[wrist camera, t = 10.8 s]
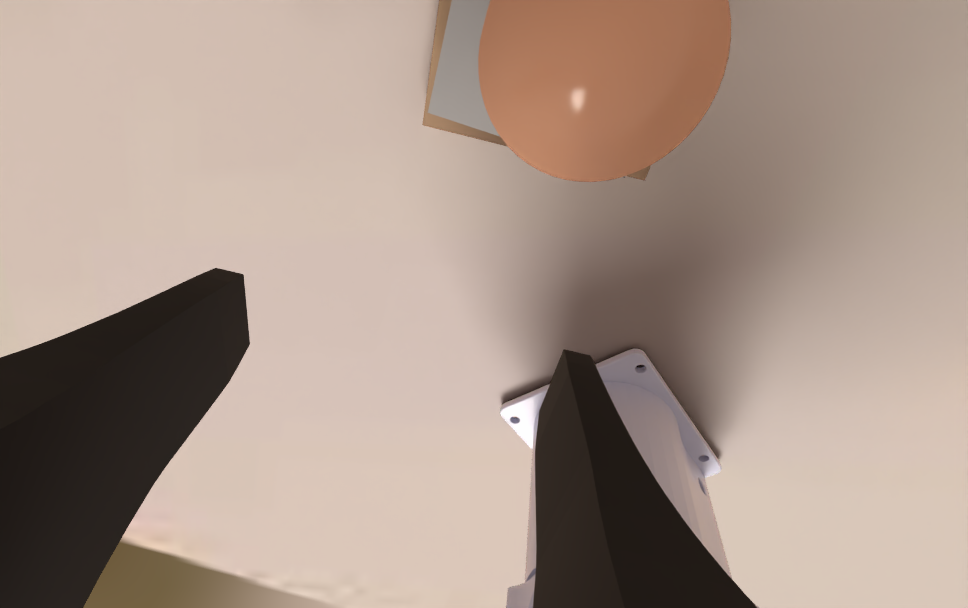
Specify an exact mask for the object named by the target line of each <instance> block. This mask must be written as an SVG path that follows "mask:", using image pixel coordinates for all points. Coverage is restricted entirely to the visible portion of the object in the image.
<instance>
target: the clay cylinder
mask: <svg viewBox="0 0 968 608" xmlns="http://www.w3.org/2000/svg"><path fill="white" fill-rule="evenodd" d="M730 41H731V18H730V10H729V2H728V0H490V2H489V6H488V10H487V13H486V17H485V21H484V25H483V29H482V34H481V38H480V46H479V55H478V74H479V82H480V89H481V94H482V97H483V101H484V105H485V108H486V110H487V113H488V115H489V118H490V120H491V122H492V124H493V125H494V127H495V129H496V131H497V132H498V134H499V135H500V137H501V138H502V139H503V141H504V142H505V143H506V145H507V146H508V147H509V148H510V149H511V150H512V151H513V152H514V153H515V154H516V155H517V156H518V157H520V158H521V159H522V160H524V161H525V162H526V163H528V164H529V165H531V166H533V167H534V168H536V169H538V170H539V171H542V172H544V173H546V174H549V175H551V176H554V177H558V178H562V179H565V180H572V181H579V182H596V181H605V180H611V179H616V178H620V177H624V176H627V175H629V174H632V173H635V172H638V171H640V170H642V169H644V168H646V167H648V166H650V165H652V164H653V163H655V162H657V161H658V160H660V159H661V158H663V157H664V156H666V155H667V154H668V153H669V152H671V151H672V150H673V149H675V148H676V147H677V146H678V145H679V144H680V143H681V142H682V141H683V140H684V139H685V138H686V137H687V136H688V135H689V134H690V133H691V132H692V131H693V129H694V128H695V127H696V126H697V124H698V123H699V122H700V121H701V119H702V118H703V116H704V115H705V113H706V112H707V110H708V108H709V107H710V105H711V103H712V101H713V99H714V97H715V95H716V93H717V91H718V89H719V86H720V83H721V81H722V78H723V76H724V72H725V68H726V64H727V60H728V56H729V48H730Z"/></svg>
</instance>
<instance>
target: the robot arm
mask: <svg viewBox="0 0 968 608" xmlns="http://www.w3.org/2000/svg"><path fill="white" fill-rule="evenodd" d="M249 345H250V341H249V330H248V319H247V308H246V297H245V286H244V275H243V274H240V273H235V272H231V271H227V270H222V269H218V268H215V269H212V270H210V271H207V272H205V273H203V274H200V275H198V276H196V277H194V278H192V279H189V280H187V281H185V282H183V283H181V284H179V285H177V286H174V287H172V288H170V289H168V290H166V291H164V292H162V293H160V294H157V295H155V296H153V297H151V298H149V299H146V300H144V301H142V302H140V303H138V304H136V305H133V306H131V307H129V308H127V309H125V310H122V311H120V312H118V313H116V314H113V315H111V316H109V317H106V318H104V319H101V320H99V321H96V322H94V323H92V324H89V325H87V326H84V327H82V328H80V329H77V330H75V331H72V332H70V333H68V334H65V335H63V336H60V337H58V338H55V339H52V340H50V341H47V342H44V343H42V344H39V345H36V346H33V347H31V348H28V349H25V350H22V351H19V352H16V353H13V354H10V355H7V356H4V357H1V358H0V608H83V607H84V605H85V603H86V601H87V599H88V597H89V595H90V593H91V592H92V590H93V588H94V586H95V584H96V582H97V580H98V578H99V577H100V575H101V573H102V571H103V569H104V568H105V566H106V564H107V562H108V561H109V559H110V557H111V555H112V554H113V552H114V550H115V548H116V546H117V545H118V543H119V541H120V540H121V538H122V536H123V534H124V533H125V531H126V529H127V527H128V526H129V524H130V522H131V521H132V519H133V517H134V516H135V514H136V512H137V511H138V509H139V507H140V506H141V504H142V503H143V501H144V499H145V498H146V496H147V494H148V493H149V491H150V489H151V488H152V486H153V484H154V483H155V481H156V480H157V479H158V477H159V476H160V474H161V473H162V471H163V470H164V468H165V467H166V466H167V464H168V463H169V462H170V460H171V459H172V458H173V456H174V455H175V454H176V452H177V451H178V450H179V448H180V447H181V446H182V444H183V443H184V442H185V440H186V439H187V438H188V436H189V435H190V434H191V432H192V431H193V430H194V428H195V427H196V426H197V424H198V423H199V422H200V420H201V419H202V418H203V416H204V415H205V414H206V412H207V411H208V410H209V408H210V407H211V406H212V404H213V403H214V402H215V400H216V399H217V398H218V396H219V395H220V394H221V392H222V391H223V389H224V388H225V387H226V385H227V384H228V383H229V381H230V379H231V377H232V376H233V374H234V372H235V371H236V369H237V367H238V365H239V363H240V362H241V360H242V358H243V356H244V354H245V352H246V350H247V348H248V347H249ZM638 365H644V366H643V367H641V368H638V367H636V366H638ZM500 415H501V417H502V418H503V419H504V420H505V421H506V422H507V423H508V424H509V425H510V426H511V427H512V429H513V430H514V431H515V432H516V433H517V434H518V435H519V436H520V437H521V438H522V439H523V440H524V442H525V443H526V444H527V445H528V446H529V447H530V448H531V449H532V467H531V485H530V502H529V520H528V537H527V554H526V572H525V583H523V584H520V585H517V586H512V587H509V588H508V593H507V605H506V608H759V607H758V606H756V605H755V604H754V603H753V602H752V601H751V600H750V599H749V598H748V597H747V596H746V595H745V594H744V593H743V591H742V590H741V589H740V588H739V587H738V586H737V585H736V583H735V582H734V581H733V580H732V577H731V573H730V569H729V566H728V562H727V558H726V555H725V551H724V547H723V544H722V540H721V536H720V533H719V529H718V525H717V522H716V518H715V515H714V511H713V507H712V504H711V500H710V496H709V493H708V489H707V485H706V482H705V478H706V477H709V476H712V475H716V474H718V473H719V472H720V471H721V469H722V468H721V464H720V461H719V460H718V458H717V457H716V456H715V454H714V453H713V451H712V450H711V448H710V447H709V445H708V444H707V442H706V441H705V440H704V438H703V437H702V435H701V434H700V432H699V431H698V429H697V428H696V426H695V425H694V424H693V422H692V421H691V419H690V418H689V416H688V415H687V413H686V412H685V410H684V409H683V408H682V406H681V405H680V403H679V402H678V400H677V399H676V397H675V396H674V394H673V393H672V392H671V390H670V389H669V387H668V386H667V384H666V383H665V381H664V380H663V378H662V377H661V376H660V374H659V373H658V371H657V370H656V368H655V367H654V365H653V364H652V362H651V361H650V360H649V358H648V357H647V355H646V354H645V352H644V351H642V350H640V349H630V350H628V351H625V352H623V353H621V354H618V355H616V356H614V357H611V358H609V359H607V360H604V361H602V362H599V363H597V364H595V363H594V361H593V359H592V357H591V356H590V355H585V354H581V353H577V352H573V351H568V350H563V353H562V355H561V358H560V360H559V363H558V365H557V368H556V370H555V373H554V375H553V378H552V380H551V383H550V384H548V385H546V386H543V387H541V388H539V389H536V390H534V391H532V392H529V393H527V394H525V395H522V396H520V397H518V398H515V399H513V400H511V401H508V402H506V403H504V404H502V406H501V408H500ZM514 416H515V417H518V418H513V417H514ZM701 455H703V456H701Z"/></svg>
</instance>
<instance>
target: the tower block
mask: <svg viewBox="0 0 968 608" xmlns="http://www.w3.org/2000/svg"><path fill="white" fill-rule="evenodd" d="M489 2H490V0H452V1H451V6H450V11H449V15H448V20H447V25H446V30H445V34H444V39H443V44H442V48H441V53H440V58H439V62H438V67H437V72H436V76H435V81H434V86H433V90H432V95H431V100H430V104H429V109H428V113H430V114H433V115H436V116H439V117H442V118H445V119H448V120H451V121H454V122H457V123H460V124H464V125H467V126H470V127H473V128H476V129H479V130H482V131H485V132H488V133H491V134H494V135H497V136H500V135H499V134H498V132H497V131H496V129H495V127H494V125H493V124H492V122H491V120H490V118H489V115H488V113H487V110H486V108H485V105H484V101H483V97H482V94H481V89H480V82H479V74H478V55H479V46H480V38H481V34H482V29H483V25H484V21H485V17H486V13H487V10H488V6H489ZM624 178H625V176H624Z"/></svg>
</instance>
